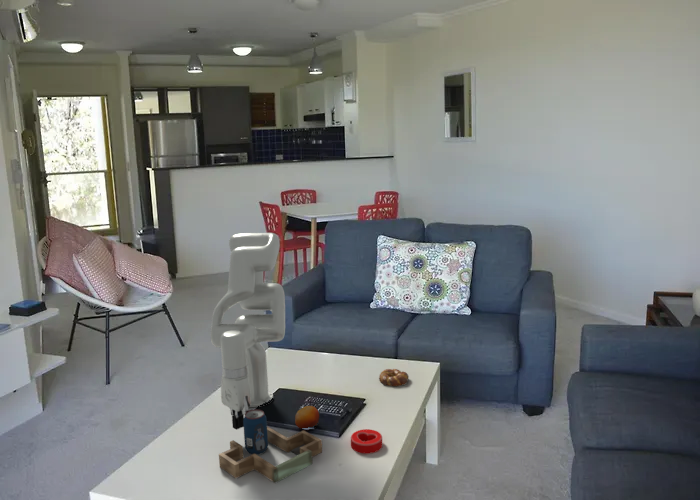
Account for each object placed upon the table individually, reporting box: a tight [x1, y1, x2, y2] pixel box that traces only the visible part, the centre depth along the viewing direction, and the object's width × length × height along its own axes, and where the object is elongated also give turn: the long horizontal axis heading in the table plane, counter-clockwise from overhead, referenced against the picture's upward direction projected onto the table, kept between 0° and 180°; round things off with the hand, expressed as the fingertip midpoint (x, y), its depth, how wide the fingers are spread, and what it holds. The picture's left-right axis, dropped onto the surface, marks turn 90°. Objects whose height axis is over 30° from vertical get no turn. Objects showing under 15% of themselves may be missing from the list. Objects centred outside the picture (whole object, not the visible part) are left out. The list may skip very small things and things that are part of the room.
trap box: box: [218, 426, 323, 484], centre depth 182 cm, size 22×26×4 cm
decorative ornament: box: [350, 428, 383, 455], centre depth 189 cm, size 10×10×3 cm
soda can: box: [243, 408, 269, 456], centre depth 186 cm, size 7×7×12 cm
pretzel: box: [378, 368, 409, 387], centre depth 234 cm, size 12×11×4 cm
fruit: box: [294, 405, 320, 430], centre depth 200 cm, size 8×8×8 cm
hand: (238, 427), depth 192 cm, fingers closed
